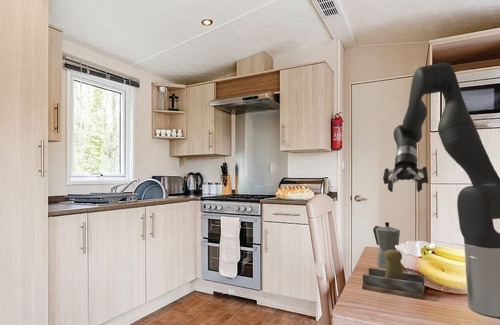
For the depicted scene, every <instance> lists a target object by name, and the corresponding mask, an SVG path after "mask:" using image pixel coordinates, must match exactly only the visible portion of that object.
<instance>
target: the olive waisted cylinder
mask: <svg viewBox="0 0 500 325" xmlns="http://www.w3.org/2000/svg"><path fill="white" fill-rule="evenodd" d="M385 258H386V260H387V262H386V269H385V270H386V272H385V278H392V279H399V280H404V279H403V273H402V272H403V270H402V268H403V267H402V263H401V261H402V259H403V255H402V253H401V251H400V250H398V249H397V250H387V251H385Z"/></svg>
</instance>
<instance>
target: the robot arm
mask: <svg viewBox="0 0 500 325" xmlns="http://www.w3.org/2000/svg"><path fill="white" fill-rule="evenodd" d="M435 93H436V94H437V93H441V94H442V95H443V99H444V108H443V110H442V113H441V117H440V119H439V121H438V126H437V134H438V136H439V138H440V140H441V143H442V145H443V148H444V150H445V151H446V153H447V154H448V155H449V157H451V158H452V160H453V161H454V162H455V163H456V164H458V166H460V167H461V169H463V170H464V172H465V174H466V175H467V177H468V178H469V180H470V182H471V185H468V186H465V187H464V188H462V189H461V190H460V191H459V193H458V195H457V199H456V200H457V202H456V205H457V215H458V217H457V218H458V224H459V230H460V233H461V236H462V238H463V242H464V243H463V246H464V261H465V273H466V274H465V277H466V294H467V307H468V308H469V309H470V310H471V311H473V312H476V313H478V314H482V315H484V316H488V317H494V318H500V232H498V231H497V230H496V229H495V227H494V220H497V219H498V220H499V219H500V176H499V175H498V173H497V171H496V169H495V167H494V165H493V163H492V161H491V160H490V157H489V155H488V153H487V151H486V149H485V146H484V144H483V142H482V139H481V137H480V134H479V132H478V130H477V127H476V125H475V123H474V120H473V119H472V117H471V114H470V112H469V110H468V107H467V104H466V103H465V100H464V98H463V94H462V91H461V88H460V85H459V80H458V78H457V75H456V72H455V69H454V67H453V66H452V64H450V63H449V62H440V63H435V64H429V65H424V66H421V67H418V68H417V69H416V70H415V71H414V74H413V76H412V80H411V86H410V92H409V98H408V99H409V100H408V106H407V110H406V112H405V115H404V117H403V120H402V124H399V125H398V126H396V127H395V128H394V130H393V139H394V140H393V141H394V142H395V144H396V152H395V158H394V167H393V169H389V168H387V167H386V168H385V169H384V173H383V175H382V176H383V178H382V179H383V184H384V185H387V190H388V191H389V192H391V193H393V190H394V184H396V183H398V182H399V181H405V180H406V181H411V180H412V181H413V182H415V183H416V191H417V193H420V191H422V190H423V184H428V183H429V177H428V168H427V167H426V166H423V167H422V168H418V161H419V160H418V152H417V151H418V150H417V149H418V143H419V142H420V141H421V140H422V137H423V131H422V130H423V128H422V127H423V124H424V123H425V120H426V118H427V115H428V108H427V106H426V104H425V102H424V100H423V99H422V98H423V97H424V95H430V94H435ZM419 174H421V175H422V176H423V177H421V176H419Z"/></svg>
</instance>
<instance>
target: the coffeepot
mask: <svg viewBox="0 0 500 325" xmlns="http://www.w3.org/2000/svg"><path fill="white" fill-rule="evenodd" d="M384 224H385V226H383V227H382V226H380V225H379V226H378V225H374V227H373V229H372V230H373V231H372V232H373V234H374V239H375V242H376V245H377V246H378V247H379V249H378V253H377V261H376V265H377V267H378V266H379V268H381V267H382V268H381V269H384V268H386V262H387V260H386V258H385V251H387V250H396V248H395V245H398V246H400V245H399V244H400V243H399V242H400V236H401V235H400V234H401V230H400V229H398V228H396V227H391V226H390V222H387V221H385V223H384Z"/></svg>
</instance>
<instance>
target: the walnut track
mask: <svg viewBox="0 0 500 325" xmlns="http://www.w3.org/2000/svg"><path fill="white" fill-rule="evenodd" d="M385 272H386V269H384V268H376V267H369V268H368V274H364V273H363V274H362V286H361V290H368V291H373V292H379V293H384V294H388V295H389V294H391V295H395V296H400V297H401V296H402V297H407V298H413V299H417V300H418V299H419V300H423V297H424V293H425V289H426V285H424V283H425V276H424V277H423V276H421V275H422V274H420V275H419V273H410V272H403V271H402V273H403V279H404V280H399V279H392V278H385Z"/></svg>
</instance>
